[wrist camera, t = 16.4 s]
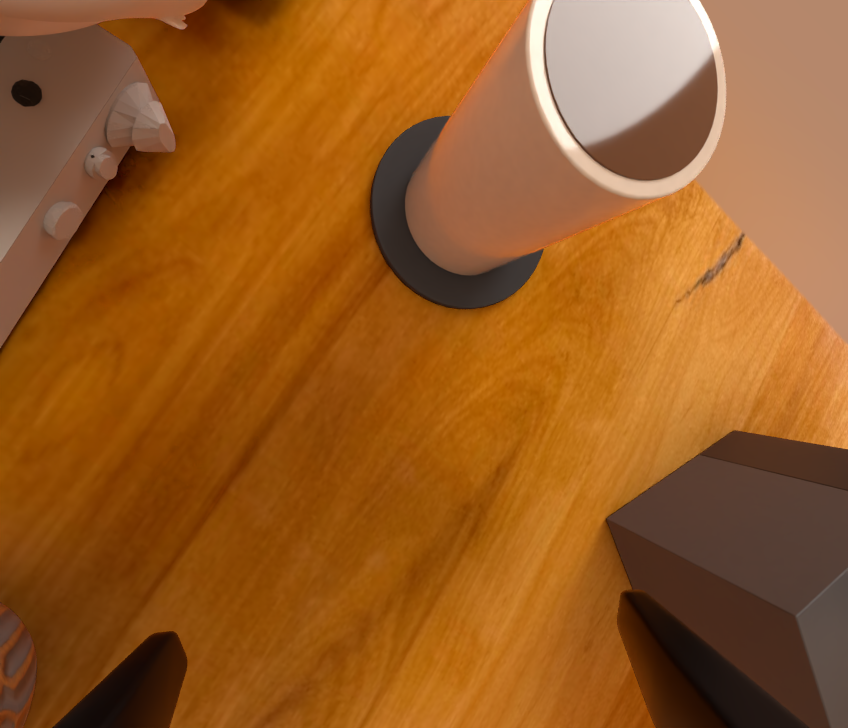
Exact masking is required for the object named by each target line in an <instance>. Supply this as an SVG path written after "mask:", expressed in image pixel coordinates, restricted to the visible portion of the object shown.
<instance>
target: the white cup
mask: <svg viewBox="0 0 848 728" xmlns="http://www.w3.org/2000/svg"><path fill="white" fill-rule="evenodd" d="M725 77H726V76H725V70H724V63H723V58H722V54H721V50H720V45H719V43H718V40H717V36H716V33H715V30H714V28H713V26H712V24H711V21H710V19H709V17H708V15H707V13H706V11H705V9H704V7H703V5H702V4H701V2H700V0H528V1H527V2H526V4H525V5H524V7H523V8H522V10H521V11H520V13H519V14H518V16H517V17H516V19H515V20H514V22H513V23H512V25H511V26H510V28H509V29H508V31H507V32H506V34H505V35H504V37H503V38H502V40H501V41H500V43H499V44H498V46H497V47H496V49H495V50H494V52H493V53H492V55H491V56H490V58H489V59H488V61H487V62H486V64H485V65H484V67H483V68H482V70H481V71H480V73H479V74H478V76H477V77H476V79H475V80H474V82H473V83H472V85H471V86H470V88H469V89H468V91H467V92H466V94H465V95H464V97H463V98H462V100H461V101H460V103H459V104H458V106H457V107H456V109H455V110H454V112H453V113H452V115H451V116H450V118H449V119H448V121H447V122H446V124H445V125H444V127H443V128H442V130H441V131H440V133H439V134H438V136H437V137H436V139H435V140H434V142H433V143H432V145H431V146H430V148H429V149H428V151H427V152H426V154H425V155H424V157H423V158H422V160H421V161H420V163H419V164H418V166H417V167H416V169H415V170H414V172H413V174H412V176H411V178H410V180H409V183H408V186H407V190H406V196H405V213H406V219H407V223H408V227H409V229H410V232H411V234H412V236H413V239H414V241H415V242H416V244H417V245H418V247H419V248H420V250H421V251H422V252H423V253H424V254H425V255H426V256H427V257H428V258H429V259H430V260H431V261H432V262H433V263H435V264H436V265H438V266H439V267H441V268H443V269H445V270H447V271H449V272H452V273H456V274H460V275H479V274H484V273H487V272H489V271H492V270H494V269H497V268H499V267H501V266H504V265H506V264H508V263H511V262H513V261H516V260H518V259H520V258H523V257H525V256H527V255H530V254H532V253H535V252H537V251H539V250H542V249H544V248H546V247H549V246H551V245H553V244H556V243H558V242H561V241H563V240H565V239H568V238H570V237H572V236H575V235H577V234H579V233H582V232H584V231H587V230H589V229H591V228H594V227H596V226H598V225H601V224H603V223H605V222H608V221H610V220H613V219H615V218H617V217H620V216H622V215H624V214H627V213H629V212H631V211H634V210H636V209H639V208H641V207H643V206H646V205H648V204H650V203H653V202H655V201H657V200H660V199H662V198H665V197H667V196H669V195H672V194H674V193H675V192H677V191H679V190H681V189H683V188H684V187H685V186H687V185H688V184H689V183H690V182H692V181H693V180H694V179H695V178H696V177H697V175H698V174H699V173H700V172H701V171H702V170H703V169H704V167H705V166H706V164H707V163H708V162H709V160H710V158H711V156H712V154H713V152H714V151H715V148H716V146H717V143H718V141H719V138H720V135H721V131H722V127H723V123H724V117H725V110H726V78H725Z"/></svg>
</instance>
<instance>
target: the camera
mask: <svg viewBox="0 0 848 728" xmlns="http://www.w3.org/2000/svg"><path fill="white" fill-rule="evenodd" d="M159 101H160V100H159V99H158V97H157V95H156V93H155V91H154V89H153V87H152V85H151V83H150V81H149V79H148V77H147V75H146V73H145V71H144V69H143V67H142V65H141V63H140V61H139V59H138V57H137V56H136V54H135V52H134V51H133V49H132V48H131V46H129V45H128V44H126V43H125V42H123V41H122V40H120V39H119V38H117V37H116V36H114V35H112V34H111V33H109V32H108V31H106V30H105V29H103V28H102V27H100V26H99V25H97V24H95V25H92V26H88V27H85V28H81V29H77V30H73V31H68V32H63V33H57V34H49V35H38V36H0V348H1V346H2V345H3V343H4V342H5V340H6V339H7V337H8V335H9V334H10V332H11V331H12V329H13V328H14V326H15V325H16V323H17V321H18V320H19V318H20V317H21V315H22V314H23V312H24V311H25V309H26V307H27V306H28V304H29V303H30V301H31V300H32V298H33V297H34V295H35V294H36V292H37V290H38V289H39V287H40V286H41V284H42V283H43V281H44V280H45V278H46V276H47V275H48V273H49V272H50V270H51V269H52V267H53V266H54V264H55V262H56V261H57V259H58V258H59V256H60V255H61V253H62V252H63V250H64V248H65V247H66V245H67V244H68V242H69V241H70V239H71V238H72V236H73V235H74V233H75V232H76V231H77V229H78V227H79V225H80V224H81V222H82V221H83V219H84V217H85V216H86V214H87V213H88V211H89V210H90V208H91V207H92V205H93V203H94V202H95V200H96V199H97V197H98V196H99V194H100V193H101V191H102V189H103V188H104V186H105V185H106V183H107V182H108V180H109V179H113V178H114V177H115V176H116V173H117V169H118V167H117V166H118V165H119V163H120V162H121V160H122V158H123V157H124V155H125V154H126V152H127V151H128V149H129V148H130V146H135V148H136V151H142V152H173V151H174V150H175V147H176V143H175V137H174V134H173V131H172V129H171V127H170V124H169V122H168V119H167V117H166V114H165V112H164V109H163V107H162V104H161V103H160V102H159Z"/></svg>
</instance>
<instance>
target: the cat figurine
mask: <svg viewBox="0 0 848 728" xmlns="http://www.w3.org/2000/svg"><path fill="white" fill-rule="evenodd" d="M206 2H207V0H0V36H38V35H49V34H57V33H63V32H68V31H73V30H77V29H81V28H85V27H88V26H92V25H95V24H98V23H100V22H103V21H109V20H117V19H124V18H155V19H158V20H161V21H163V22H165V23H167V24H169V25H171V26H173V27H175V28H178V29H185V28H186V27H187V25H186V24H185V23H184V22H183V21H182V20H185V19H186V17H185V16H184V15H186V14H189V13H192V12H194V11H196V10H198V9H199V8H201V7H202V6H203V5H204V4H205V3H206Z"/></svg>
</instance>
